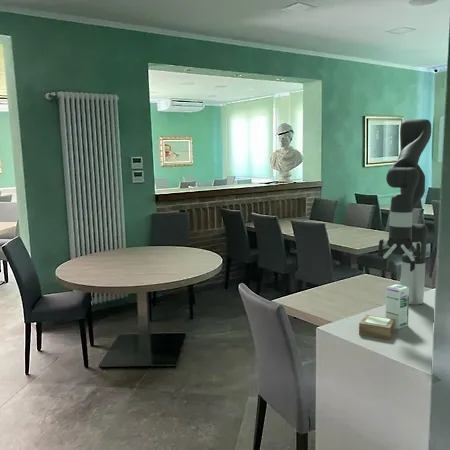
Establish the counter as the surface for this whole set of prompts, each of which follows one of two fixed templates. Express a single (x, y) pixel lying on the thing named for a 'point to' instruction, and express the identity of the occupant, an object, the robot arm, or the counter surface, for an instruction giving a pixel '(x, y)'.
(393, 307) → the syrup box
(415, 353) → the counter surface
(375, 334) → the plinth
